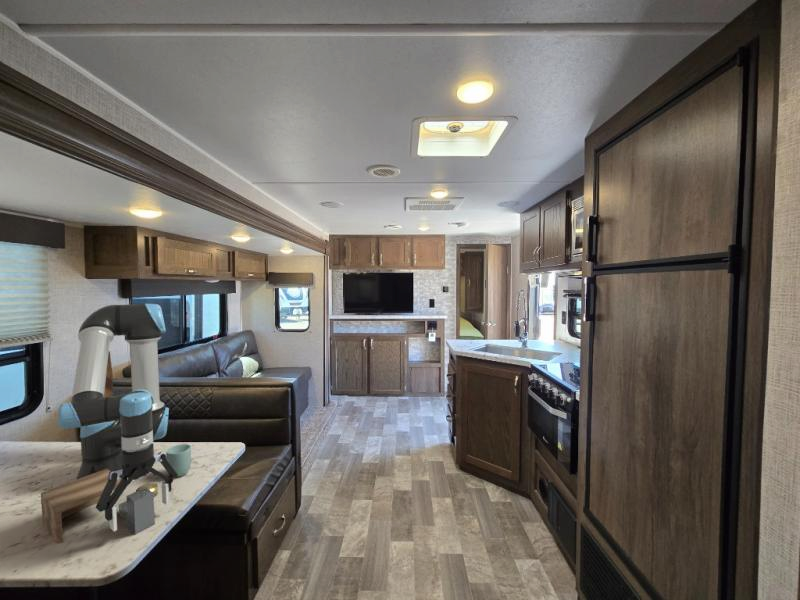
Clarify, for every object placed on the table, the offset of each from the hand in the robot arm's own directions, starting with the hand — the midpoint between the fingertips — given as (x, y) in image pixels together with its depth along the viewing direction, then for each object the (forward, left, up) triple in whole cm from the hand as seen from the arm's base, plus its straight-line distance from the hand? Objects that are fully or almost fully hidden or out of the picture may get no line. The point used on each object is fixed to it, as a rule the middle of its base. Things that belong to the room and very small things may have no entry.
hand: (141, 515), depth 104 cm
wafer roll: (-64, +11, -4) cm, 65 cm away
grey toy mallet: (-5, 0, -3) cm, 6 cm away
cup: (-20, +21, -4) cm, 29 cm away
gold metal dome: (-15, +8, -4) cm, 18 cm away
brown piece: (-19, -7, -3) cm, 21 cm away
